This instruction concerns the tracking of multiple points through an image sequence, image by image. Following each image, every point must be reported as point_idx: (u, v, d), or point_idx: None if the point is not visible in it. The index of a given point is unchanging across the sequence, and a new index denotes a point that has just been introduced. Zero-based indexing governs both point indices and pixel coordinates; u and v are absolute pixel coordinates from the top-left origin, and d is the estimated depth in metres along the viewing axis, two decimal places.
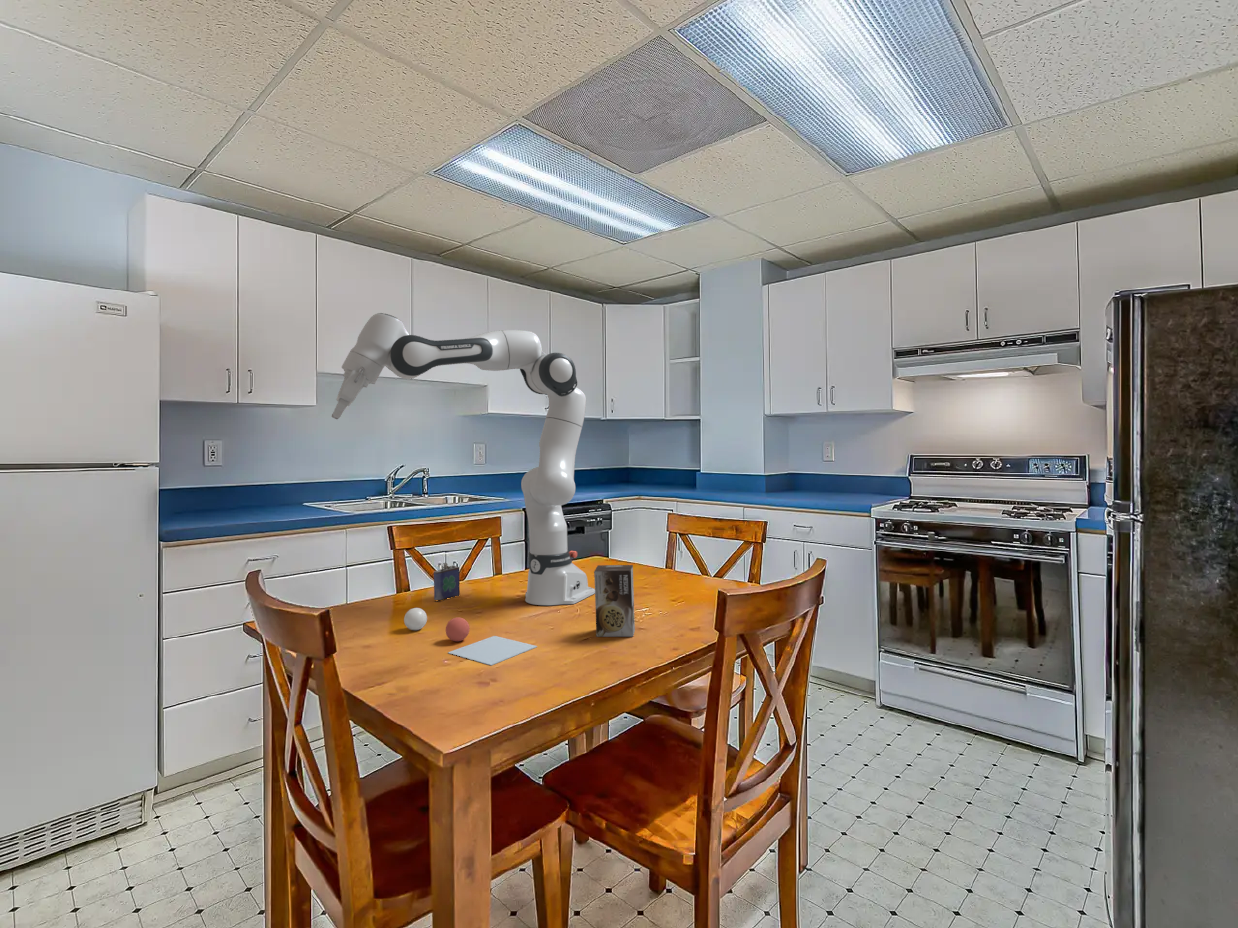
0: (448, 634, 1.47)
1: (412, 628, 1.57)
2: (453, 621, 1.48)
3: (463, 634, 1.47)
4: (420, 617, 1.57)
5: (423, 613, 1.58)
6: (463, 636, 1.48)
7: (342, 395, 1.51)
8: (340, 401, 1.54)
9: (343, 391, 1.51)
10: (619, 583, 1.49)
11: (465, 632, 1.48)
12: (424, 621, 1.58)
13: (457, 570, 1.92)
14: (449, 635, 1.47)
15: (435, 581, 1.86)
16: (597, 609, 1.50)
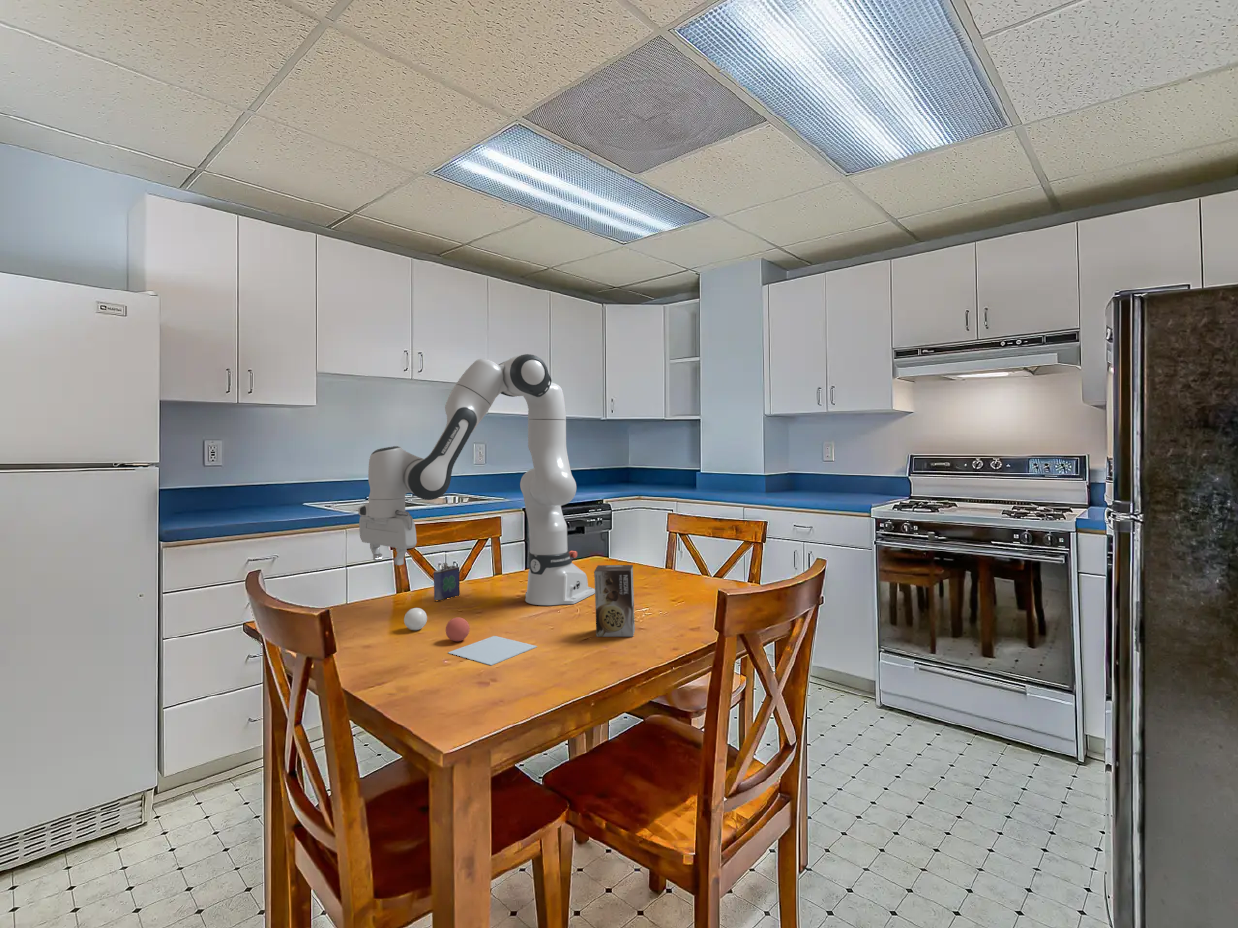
0: (448, 634, 1.47)
1: (412, 628, 1.57)
2: (453, 621, 1.48)
3: (463, 634, 1.47)
4: (420, 617, 1.57)
5: (423, 613, 1.58)
6: (463, 636, 1.48)
7: (407, 546, 1.57)
8: (400, 550, 1.59)
9: (406, 543, 1.56)
10: (619, 583, 1.49)
11: (465, 632, 1.48)
12: (424, 621, 1.58)
13: (457, 570, 1.92)
14: (449, 635, 1.47)
15: (435, 581, 1.86)
16: (597, 609, 1.50)
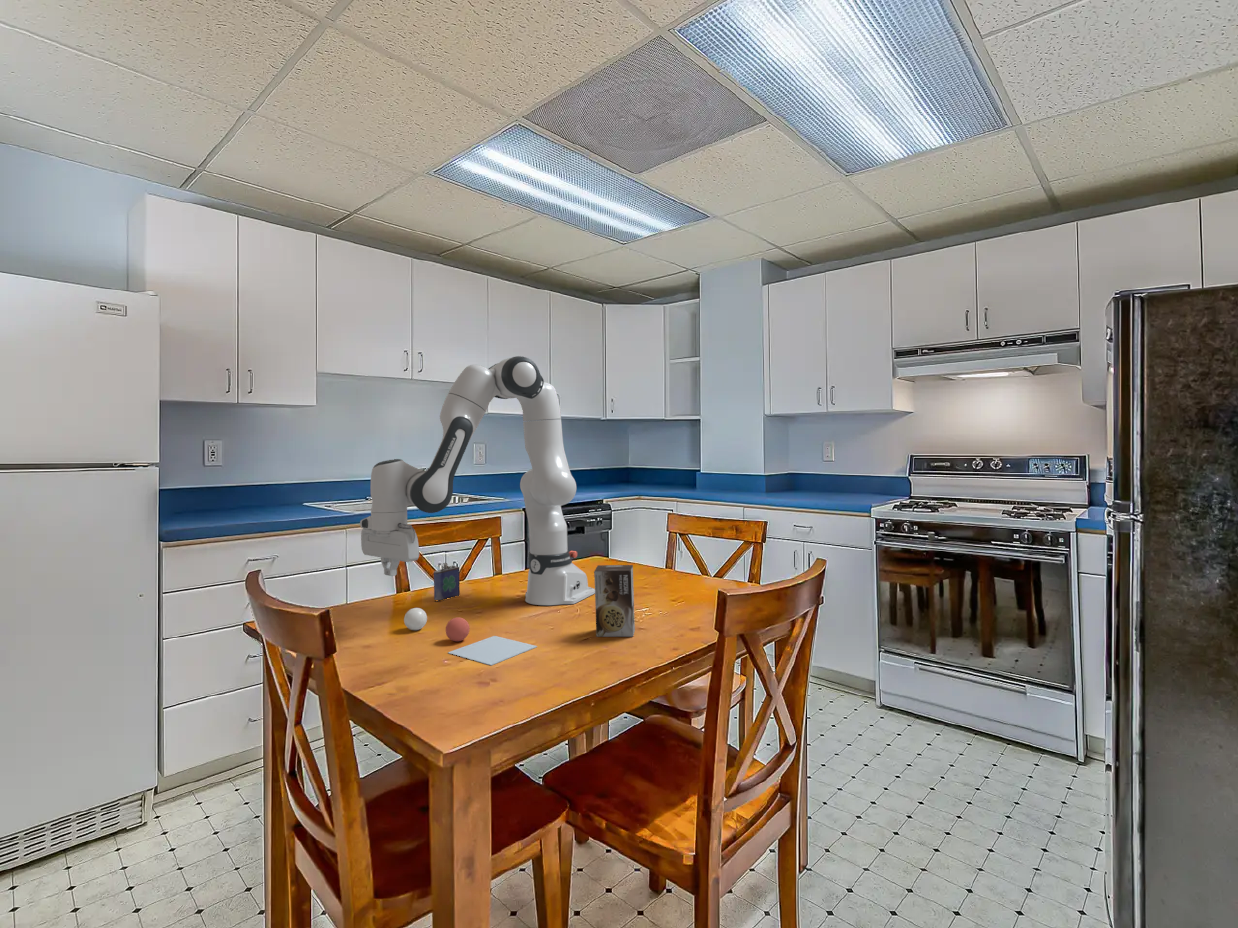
0: (448, 634, 1.47)
1: (412, 628, 1.57)
2: (453, 621, 1.48)
3: (463, 634, 1.47)
4: (420, 617, 1.57)
5: (423, 613, 1.58)
6: (463, 636, 1.48)
7: (409, 560, 1.57)
8: (393, 561, 1.61)
9: (409, 556, 1.56)
10: (619, 583, 1.49)
11: (465, 632, 1.48)
12: (424, 621, 1.58)
13: (457, 570, 1.92)
14: (449, 635, 1.47)
15: (435, 581, 1.86)
16: (597, 609, 1.50)
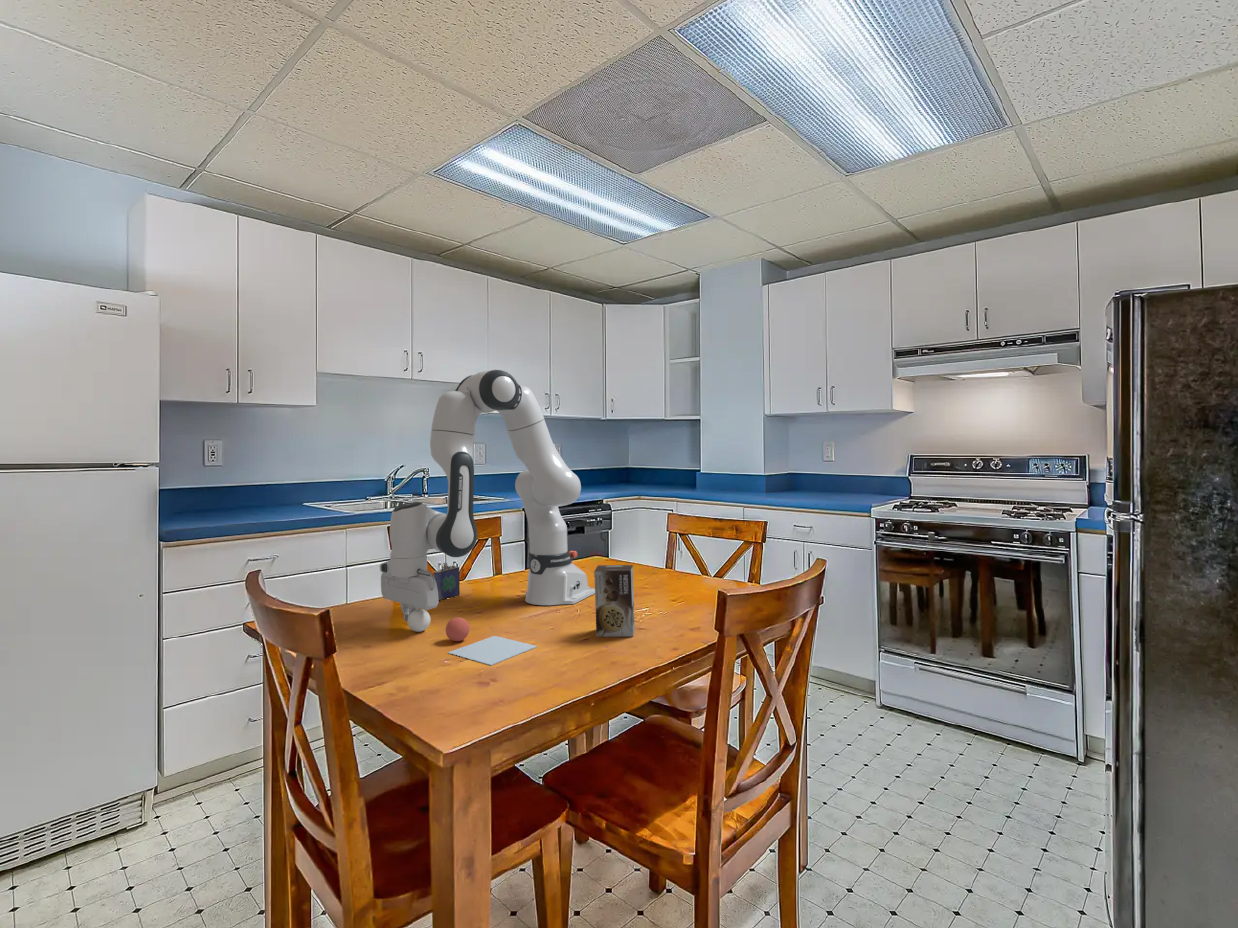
0: (448, 634, 1.47)
1: (415, 630, 1.56)
2: (453, 621, 1.48)
3: (463, 634, 1.47)
4: (425, 622, 1.55)
5: (428, 617, 1.57)
6: (463, 636, 1.48)
7: (428, 607, 1.53)
8: (412, 607, 1.58)
9: (428, 604, 1.52)
10: (619, 583, 1.49)
11: (465, 632, 1.48)
12: (428, 625, 1.57)
13: (457, 570, 1.92)
14: (449, 635, 1.47)
15: None
16: (597, 609, 1.50)
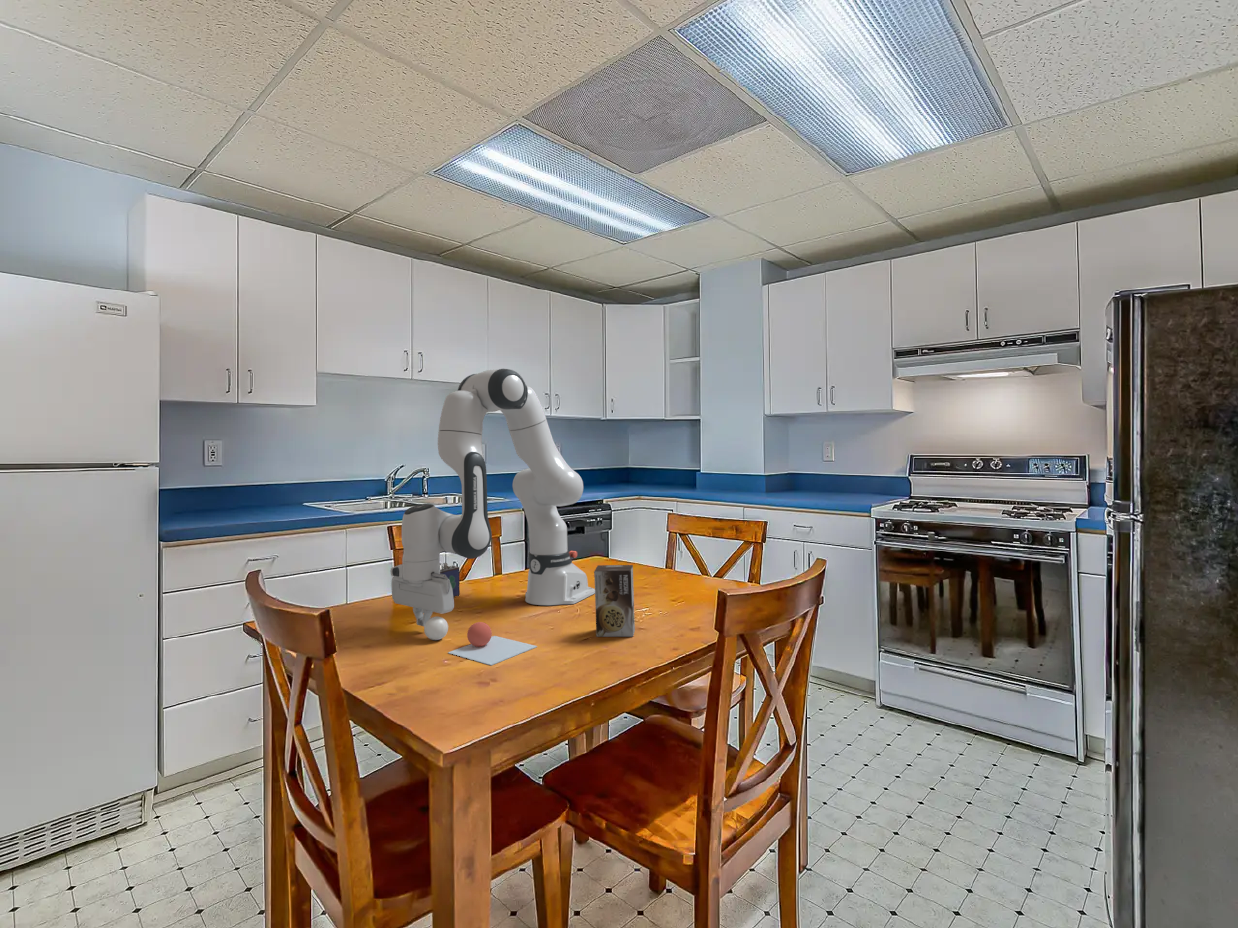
0: (470, 635, 1.43)
1: (426, 625, 1.49)
2: (477, 645, 1.44)
3: None
4: None
5: None
6: None
7: (444, 611, 1.50)
8: (426, 612, 1.55)
9: (444, 608, 1.50)
10: (619, 583, 1.49)
11: None
12: None
13: (457, 570, 1.92)
14: (469, 634, 1.43)
15: None
16: (597, 609, 1.50)
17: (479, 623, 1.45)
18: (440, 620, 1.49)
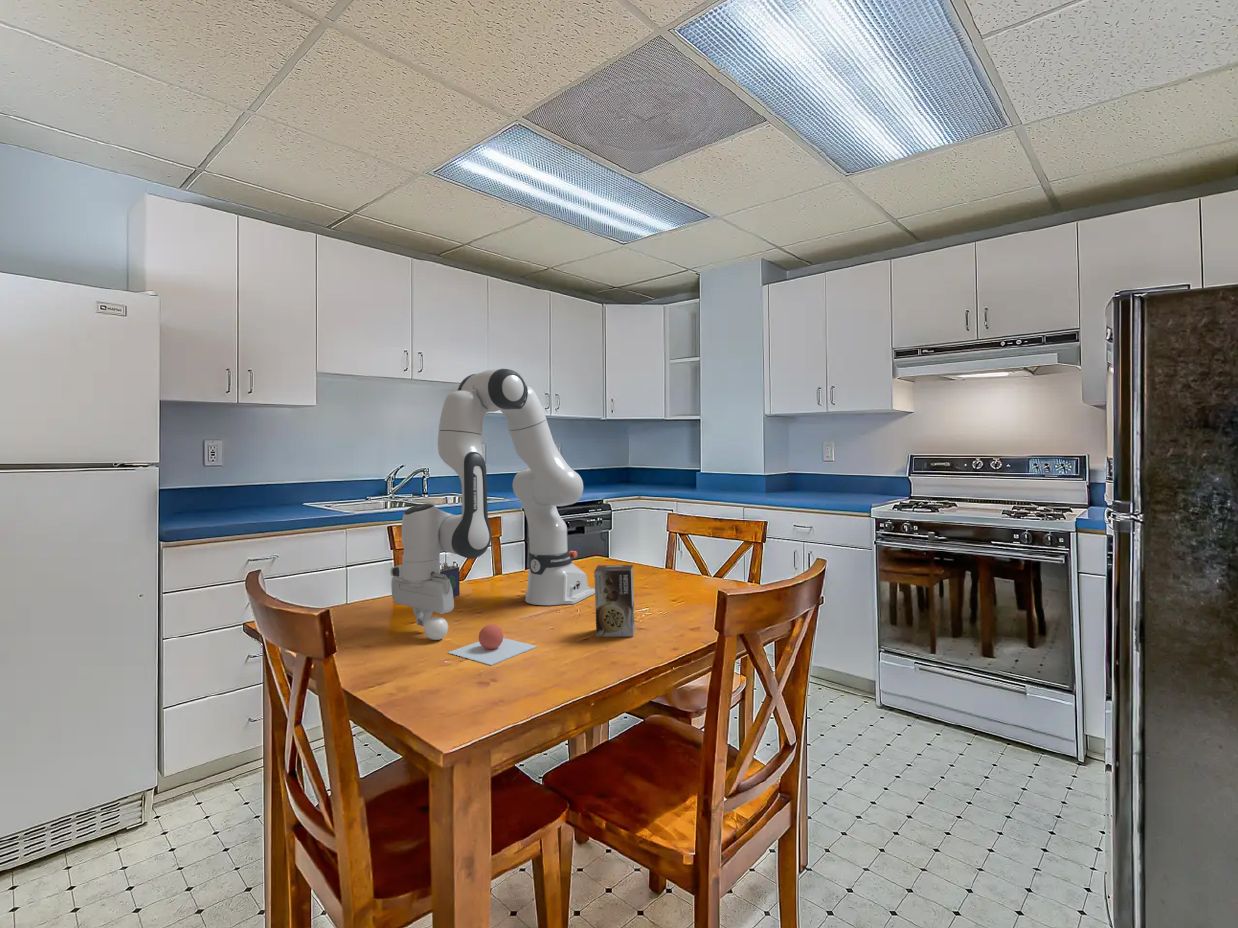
0: (483, 639, 1.40)
1: (426, 625, 1.49)
2: None
3: (485, 626, 1.43)
4: None
5: None
6: (487, 625, 1.43)
7: (444, 611, 1.50)
8: (426, 612, 1.55)
9: (444, 608, 1.50)
10: (619, 583, 1.49)
11: None
12: None
13: (457, 570, 1.92)
14: (483, 637, 1.41)
15: None
16: (597, 609, 1.50)
17: (498, 637, 1.41)
18: (440, 620, 1.49)
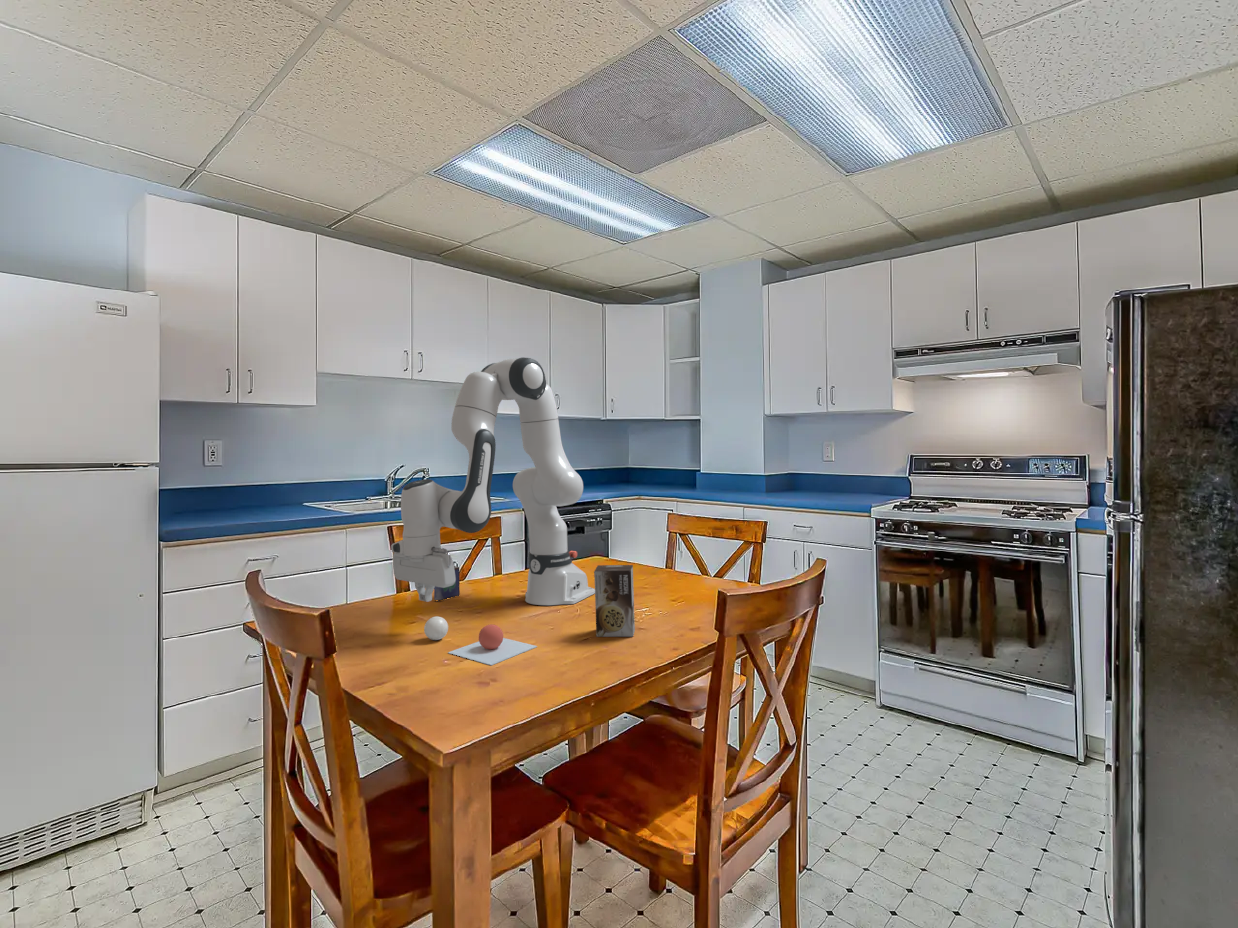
0: (483, 639, 1.40)
1: (426, 625, 1.49)
2: None
3: (485, 626, 1.43)
4: None
5: None
6: (487, 625, 1.43)
7: (446, 585, 1.50)
8: (428, 587, 1.55)
9: (446, 582, 1.50)
10: (619, 583, 1.49)
11: None
12: None
13: (457, 570, 1.92)
14: (483, 637, 1.41)
15: None
16: (597, 609, 1.50)
17: (498, 637, 1.41)
18: (440, 620, 1.49)
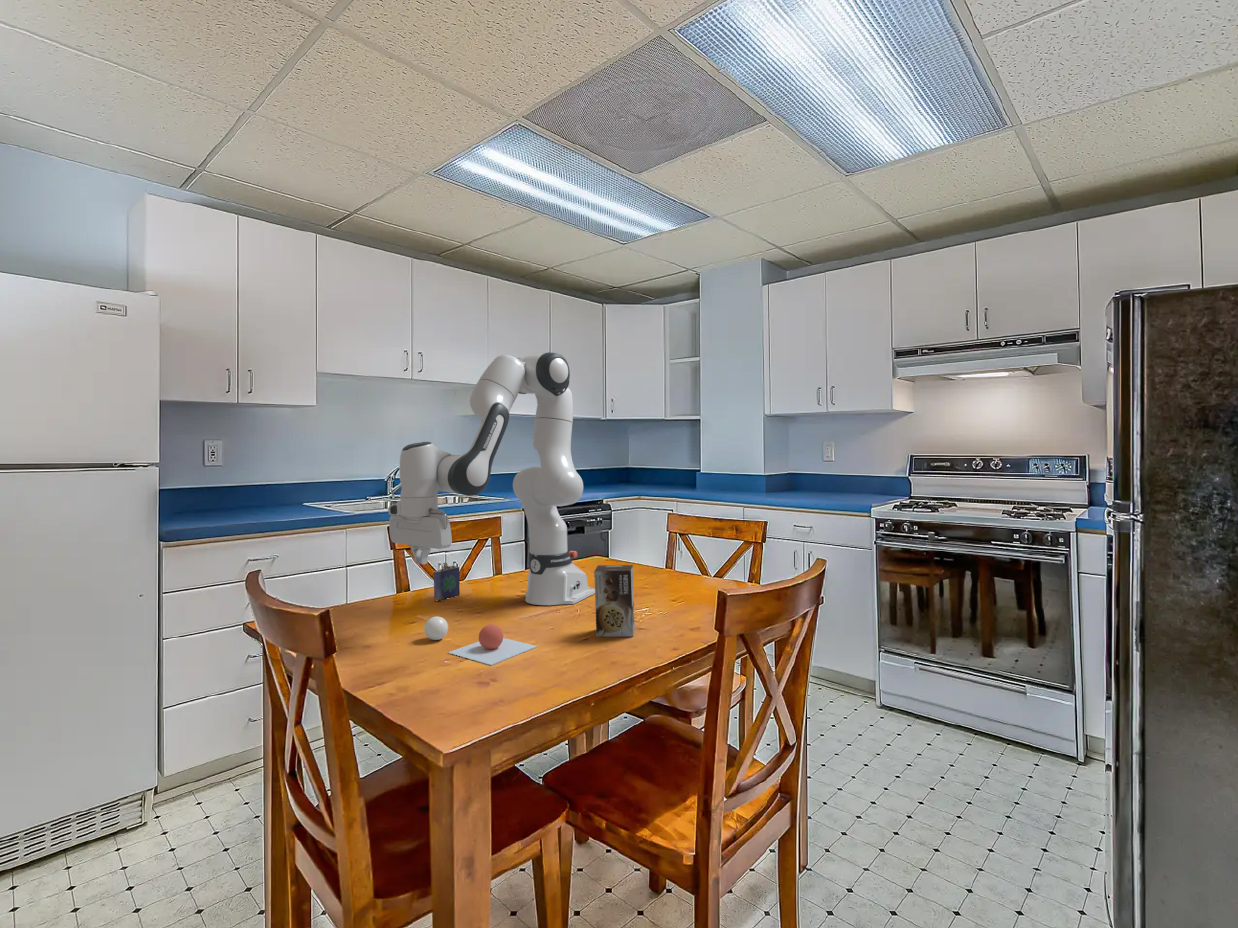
0: (483, 639, 1.40)
1: (426, 625, 1.49)
2: None
3: (485, 626, 1.43)
4: None
5: None
6: (487, 625, 1.43)
7: (442, 546, 1.49)
8: (424, 549, 1.54)
9: (442, 543, 1.49)
10: (619, 583, 1.49)
11: None
12: None
13: (457, 570, 1.92)
14: (483, 637, 1.41)
15: (435, 581, 1.86)
16: (597, 609, 1.50)
17: (498, 637, 1.41)
18: (440, 620, 1.49)
